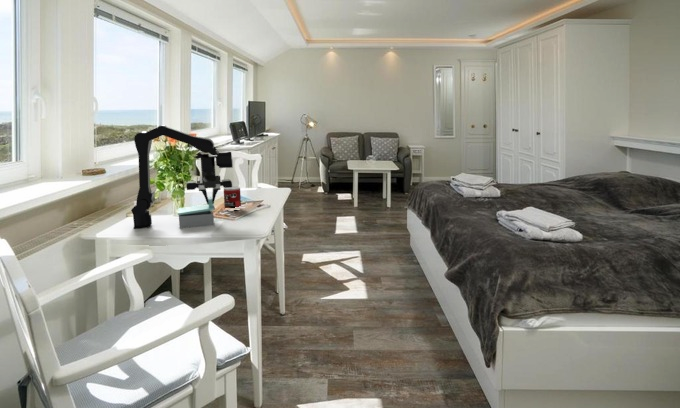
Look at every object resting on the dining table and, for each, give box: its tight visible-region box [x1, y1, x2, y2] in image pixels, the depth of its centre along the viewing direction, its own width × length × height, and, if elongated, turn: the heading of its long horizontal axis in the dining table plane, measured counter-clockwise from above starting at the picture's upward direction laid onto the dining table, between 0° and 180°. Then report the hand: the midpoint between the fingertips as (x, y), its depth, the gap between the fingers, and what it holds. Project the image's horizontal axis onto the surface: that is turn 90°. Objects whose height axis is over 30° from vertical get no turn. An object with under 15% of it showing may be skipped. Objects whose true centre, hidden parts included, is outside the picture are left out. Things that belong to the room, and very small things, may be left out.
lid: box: [177, 196, 216, 216], centre depth 204 cm, size 15×10×5 cm, turn 108°
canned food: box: [223, 186, 242, 209], centre depth 232 cm, size 8×8×11 cm
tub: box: [178, 210, 215, 229], centre depth 205 cm, size 14×9×5 cm, turn 108°
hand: (210, 204), depth 206 cm, fingers closed on lid
